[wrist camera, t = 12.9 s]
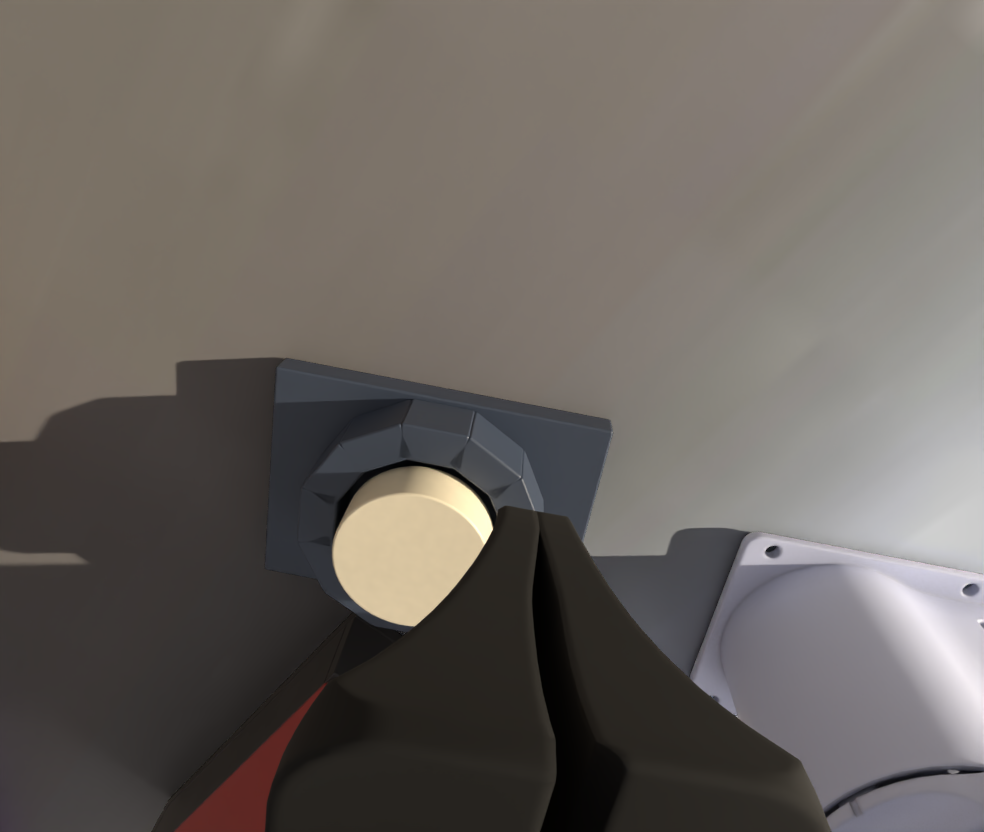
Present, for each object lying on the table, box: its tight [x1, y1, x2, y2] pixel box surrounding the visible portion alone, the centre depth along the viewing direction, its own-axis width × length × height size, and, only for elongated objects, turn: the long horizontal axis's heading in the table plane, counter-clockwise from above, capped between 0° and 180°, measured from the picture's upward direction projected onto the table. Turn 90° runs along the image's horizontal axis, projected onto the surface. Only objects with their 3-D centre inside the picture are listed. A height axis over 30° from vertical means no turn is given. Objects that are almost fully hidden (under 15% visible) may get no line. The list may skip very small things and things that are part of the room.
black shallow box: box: [152, 612, 403, 832], centre depth 30 cm, size 11×15×4 cm
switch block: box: [265, 358, 613, 632], centre depth 24 cm, size 11×8×3 cm
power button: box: [332, 466, 494, 626], centre depth 22 cm, size 5×5×2 cm
